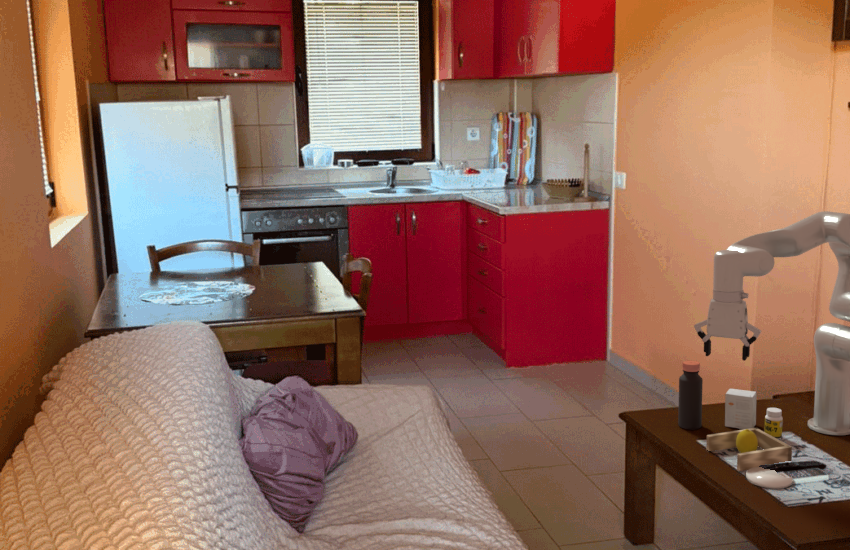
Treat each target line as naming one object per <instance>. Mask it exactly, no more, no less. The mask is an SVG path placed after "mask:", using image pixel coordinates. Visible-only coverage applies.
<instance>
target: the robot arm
mask: <svg viewBox="0 0 850 550" xmlns="http://www.w3.org/2000/svg"><path fill="white" fill-rule="evenodd" d="M825 243H828V246H829V247H830V250H832V253H833V254H834V256H835V259H836V260H837V264H838V265H837V266H838V267H837V268H838V271H837V276H836V280H835V283H834V286H833V290H832V294H831V298H830V301H829V305H828V306H829V307H828V311H829V313H830V314H831V316H832V317H834V318H836V319H839V320H841V321H845V322H849V323H850V213H845V212H844V213H843V212H836V211H835V212H834V211H825V210H824V211H818V212H815V213H814V214H811V215H809V216H807V217H804V218H803V219H800V220H799V221H797V222H794V223H792V224H789V225H787V226H785V227H783V228H776V229H774V230H769V231H764V232H761V233H756V234H754V235H750V236H747V237H744V238H743V239H740V240H738V241H735V242H734V243H731V245H729V246H728V247H727V248H726V249H721V250H718V251H716V252H715V253H714V255H713V278H712V279H713V282H712V285H713V286H712V287H713V288H712V298H711V299H710V302H709V306H708V311H707V319H705V320H702V321H699V322H697V323H696V324H694V325H693V328H694V329H695V332H696V334H697V336H698V337H699V338H700V339H701V341H702V342H703V353H705V357H709V356H710V355H711V353H712V340H711V337H716V338H726V339H738V340H740V341H741V343H742V344H743V345H742V349H741V350H742V351H741V353H742V354H741V357H742V358H741V359H742V361H743V362H744V361H746V360H747V359H748V358H749V357H750V351H751V349H750V348H751V347H750V346H751V345H752V344H753V343H754V342H756V341H757V339H758V338H759V336H760V335H761V334H762V330H761V329H759V328H758V327H756V326H754V325H752V323H751V324H750V323H749V316H748V308H747V307H748V306H747V305H748V304H747V302H746V300H744V299H749V293H748V292H745V291H744V277H756V278H757V277H763V276H766V275H768V274H770V273H771V272H772V270H773V269H774V266H775V258H793V257H798V256H801V255H803V254H805V253H807V252H809V251H811V250H813V249H815V248H817V247H819V246H821V245H824V244H825ZM702 327H706V333H705V332H704V330H703V329H702ZM749 331H750V332H752V333H753V335H752V336H751V337H750V338H749V336H748V333H749ZM813 346H814V353H815V367H816V368H815V384H814V385H815V387H814V405H813V406H814V407H813V417H812V418H809V419H808V420H807V427H808V428H809V429H810V430H812V431H814V432H817V433H820V434H824V435H828V436H829V435H830V436H846V435H847V436H848V435H850V326H848V325H844V324H841V323H836V322H826V323H824V324H821V325H820V326H818V328H816V330H815V331H814V336H813Z"/></svg>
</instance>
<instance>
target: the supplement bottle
mask: <svg viewBox="0 0 850 550" xmlns="http://www.w3.org/2000/svg"><path fill="white" fill-rule="evenodd" d="M782 414H783V413H782V409H781V408H777V407H767V408H766V415H765V416H764V427H763V432H765V433H767V434H769V435H771V436H773V437H775V438H776V439H780V440H781V439H782V438H783V425H784V424H783V423H784V419H783V416H782Z"/></svg>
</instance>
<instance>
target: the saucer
mask: <svg viewBox="0 0 850 550" xmlns="http://www.w3.org/2000/svg"><path fill="white" fill-rule="evenodd" d="M745 478H746V480H747V481H748V482H749V483H750V484H752V485H754V486H758V487H760V488H765V489H772V490H773V489H774V490H778V489H780V490H781V489H787V488H790V487H791V486H792V485H793V481H794V480H793V479H794V478H793V476H792V475H791V477H790V478H786V477H782V476H780V475H778V474H777V472H776V471H775V470H770V469H764V468H762V467H754V468H751V469H749V470H746V473H745ZM792 480H793V481H792Z"/></svg>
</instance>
